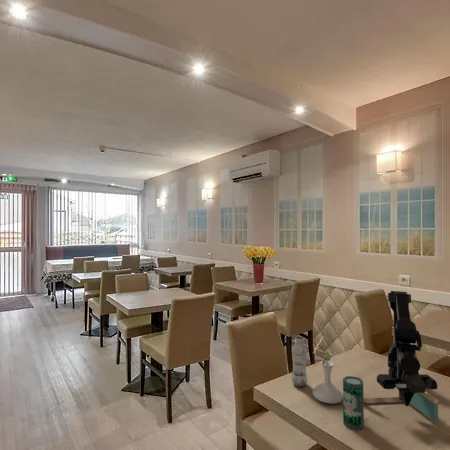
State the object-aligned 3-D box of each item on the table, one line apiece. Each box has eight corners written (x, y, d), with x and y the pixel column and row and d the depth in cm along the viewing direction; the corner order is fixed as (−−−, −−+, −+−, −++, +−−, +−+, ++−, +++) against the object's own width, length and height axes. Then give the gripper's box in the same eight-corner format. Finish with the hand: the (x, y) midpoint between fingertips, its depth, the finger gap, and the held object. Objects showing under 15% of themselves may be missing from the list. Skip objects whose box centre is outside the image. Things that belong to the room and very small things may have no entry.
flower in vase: (321, 388, 132) (321, 328, 132) (348, 398, 124) (347, 334, 124) (304, 400, 123) (304, 335, 123) (332, 412, 115) (331, 343, 115)
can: (340, 423, 108) (340, 379, 108) (350, 417, 112) (349, 374, 112) (356, 432, 103) (356, 386, 104) (366, 425, 107) (366, 381, 107)
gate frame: (402, 398, 124) (402, 375, 124) (408, 402, 121) (408, 379, 121) (355, 400, 123) (354, 377, 123) (359, 404, 120) (358, 381, 120)
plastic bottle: (305, 381, 138) (305, 335, 138) (308, 389, 131) (308, 340, 131) (290, 380, 139) (290, 334, 139) (292, 388, 132) (292, 340, 132)
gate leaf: (403, 399, 121) (403, 379, 121) (407, 398, 121) (407, 379, 121) (434, 422, 106) (434, 400, 106) (438, 421, 107) (438, 400, 107)
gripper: (391, 371, 105) (392, 419, 105) (448, 371, 105) (448, 419, 105) (375, 357, 116) (376, 400, 116) (427, 358, 116) (427, 400, 116)
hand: (406, 405), depth 113 cm, fingers closed
